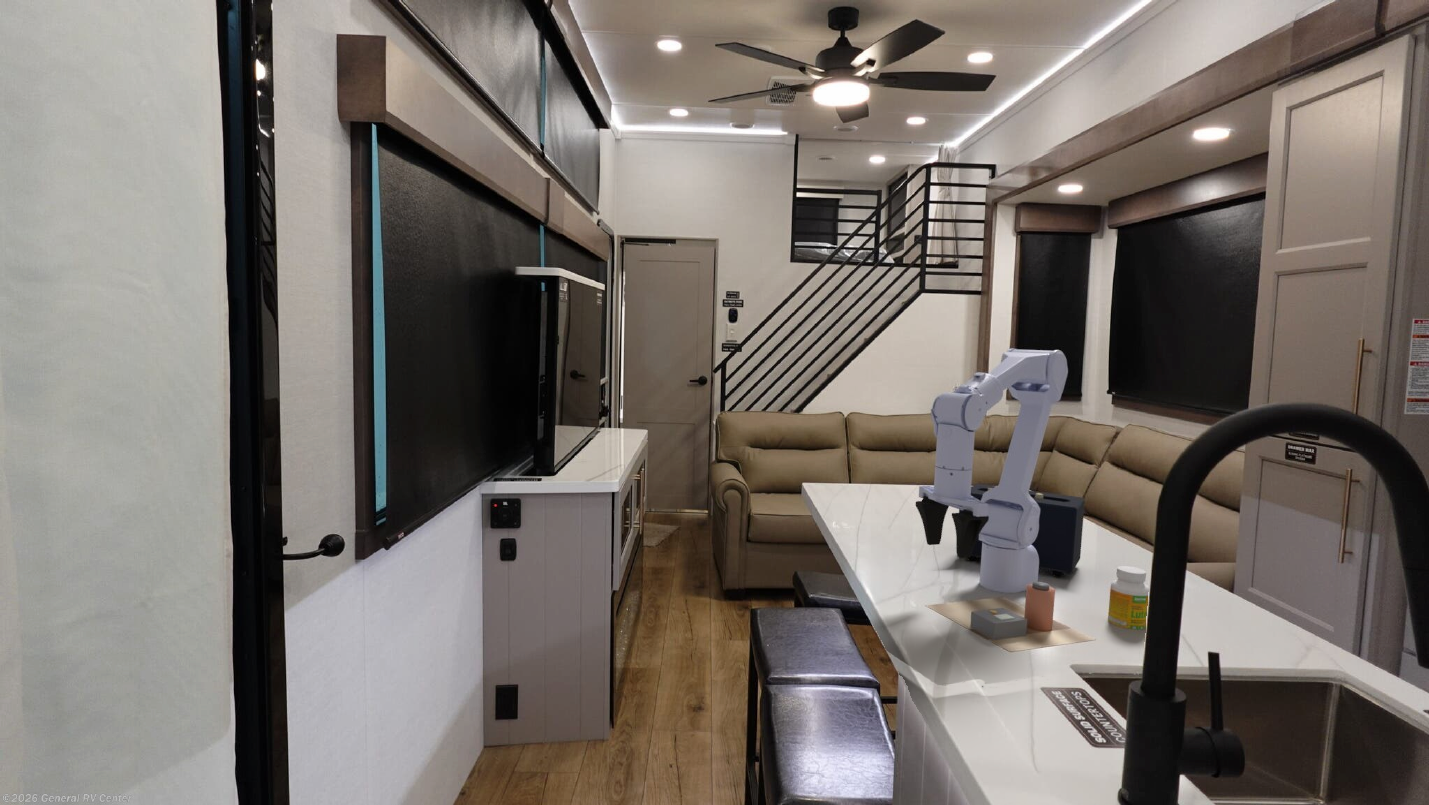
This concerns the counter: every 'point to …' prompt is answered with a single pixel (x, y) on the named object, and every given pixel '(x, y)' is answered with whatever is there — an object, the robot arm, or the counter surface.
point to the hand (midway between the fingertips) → (948, 550)
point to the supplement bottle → (1129, 598)
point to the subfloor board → (1033, 638)
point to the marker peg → (1039, 606)
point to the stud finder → (998, 623)
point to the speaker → (1050, 530)
